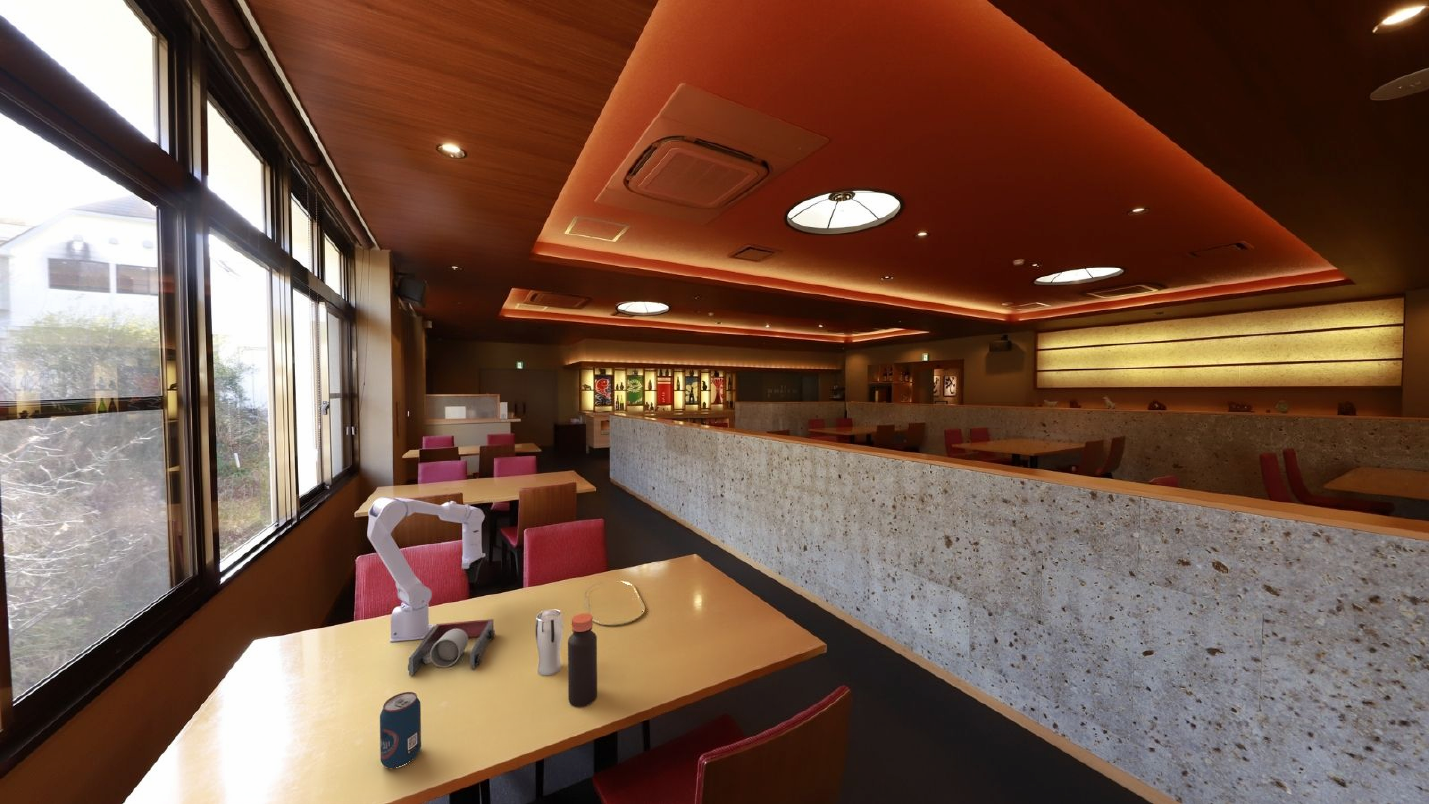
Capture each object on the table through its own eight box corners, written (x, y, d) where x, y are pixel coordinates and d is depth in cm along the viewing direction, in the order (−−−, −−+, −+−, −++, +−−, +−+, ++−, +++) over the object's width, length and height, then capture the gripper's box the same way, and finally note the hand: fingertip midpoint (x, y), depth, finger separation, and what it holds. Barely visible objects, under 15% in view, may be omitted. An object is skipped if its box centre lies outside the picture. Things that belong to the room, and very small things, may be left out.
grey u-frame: (405, 675, 122) (405, 659, 122) (434, 638, 140) (434, 624, 140) (477, 668, 125) (477, 651, 125) (496, 633, 143) (496, 618, 143)
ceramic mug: (470, 649, 135) (469, 623, 135) (460, 666, 127) (459, 638, 127) (430, 654, 133) (429, 627, 133) (417, 671, 125) (416, 643, 125)
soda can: (372, 766, 93) (371, 707, 93) (406, 741, 99) (405, 686, 99) (396, 776, 90) (395, 716, 90) (429, 750, 97) (428, 694, 97)
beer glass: (557, 677, 122) (557, 621, 121) (531, 677, 122) (530, 621, 121) (566, 661, 129) (566, 608, 128) (541, 661, 129) (541, 608, 128)
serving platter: (592, 633, 145) (592, 628, 145) (581, 588, 177) (581, 584, 177) (650, 622, 152) (650, 617, 152) (630, 581, 184) (630, 577, 184)
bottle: (573, 689, 117) (573, 611, 116) (600, 689, 117) (599, 611, 116) (564, 707, 110) (563, 624, 110) (592, 708, 110) (591, 625, 109)
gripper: (478, 548, 151) (478, 589, 151) (490, 535, 165) (491, 572, 165) (454, 550, 149) (455, 591, 150) (469, 536, 164) (470, 574, 164)
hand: (472, 581), depth 157 cm, fingers closed
